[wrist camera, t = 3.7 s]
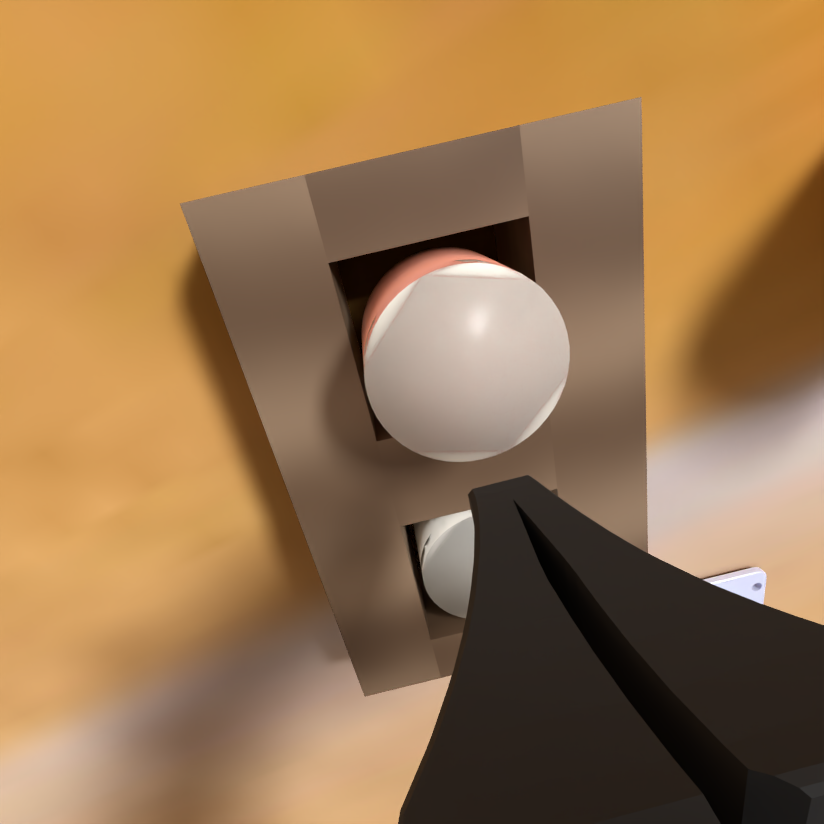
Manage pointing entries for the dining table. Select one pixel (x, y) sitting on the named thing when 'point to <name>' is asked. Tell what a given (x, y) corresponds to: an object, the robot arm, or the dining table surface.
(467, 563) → the white domed canister
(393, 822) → the dining table surface
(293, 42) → the dining table surface
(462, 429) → the plunger
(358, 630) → the housing
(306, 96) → the dining table surface
